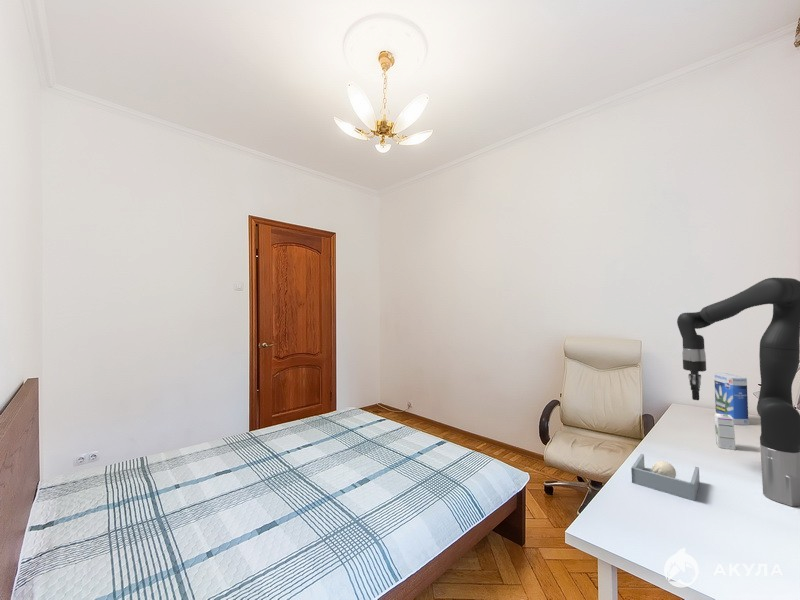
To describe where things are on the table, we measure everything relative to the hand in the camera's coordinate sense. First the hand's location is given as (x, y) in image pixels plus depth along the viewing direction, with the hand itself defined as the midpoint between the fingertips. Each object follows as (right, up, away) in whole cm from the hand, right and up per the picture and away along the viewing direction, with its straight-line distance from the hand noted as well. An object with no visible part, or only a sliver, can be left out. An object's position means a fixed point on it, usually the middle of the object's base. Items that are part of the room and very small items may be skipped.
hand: (695, 399), depth 144 cm
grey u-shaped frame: (-26, -26, -17) cm, 41 cm away
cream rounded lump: (-25, -27, -15) cm, 39 cm away
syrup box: (+25, -26, +13) cm, 39 cm away
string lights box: (+61, -26, +46) cm, 81 cm away
